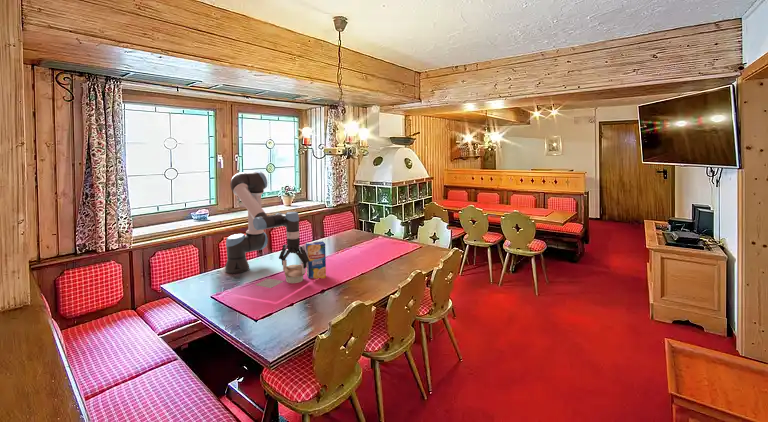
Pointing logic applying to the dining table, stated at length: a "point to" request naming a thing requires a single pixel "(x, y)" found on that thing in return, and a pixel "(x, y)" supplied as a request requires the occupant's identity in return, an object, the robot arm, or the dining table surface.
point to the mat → (269, 283)
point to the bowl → (294, 279)
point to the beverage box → (316, 260)
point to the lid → (293, 271)
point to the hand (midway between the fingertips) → (294, 271)
